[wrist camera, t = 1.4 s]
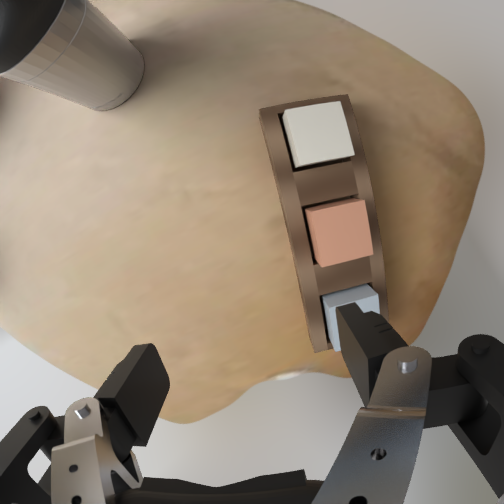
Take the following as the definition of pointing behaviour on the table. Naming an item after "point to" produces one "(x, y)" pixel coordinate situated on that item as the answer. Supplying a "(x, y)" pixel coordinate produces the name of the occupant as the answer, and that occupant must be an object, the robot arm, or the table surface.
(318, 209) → the pink square block
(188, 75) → the table surface
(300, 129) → the cream button
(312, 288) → the button panel
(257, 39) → the table surface
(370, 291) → the bluegrey button
